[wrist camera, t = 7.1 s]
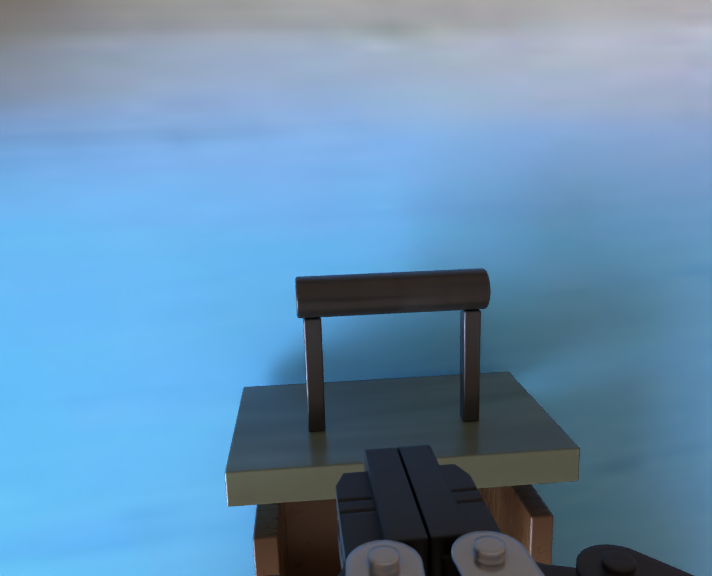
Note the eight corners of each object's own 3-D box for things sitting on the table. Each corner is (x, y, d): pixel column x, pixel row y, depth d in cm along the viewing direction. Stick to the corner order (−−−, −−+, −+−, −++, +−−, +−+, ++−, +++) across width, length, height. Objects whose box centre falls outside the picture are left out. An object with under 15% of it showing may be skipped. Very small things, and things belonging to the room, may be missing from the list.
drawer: (234, 257, 26) (210, 300, 19) (512, 245, 27) (589, 281, 20) (263, 678, 30) (253, 841, 23) (501, 655, 31) (562, 805, 24)
